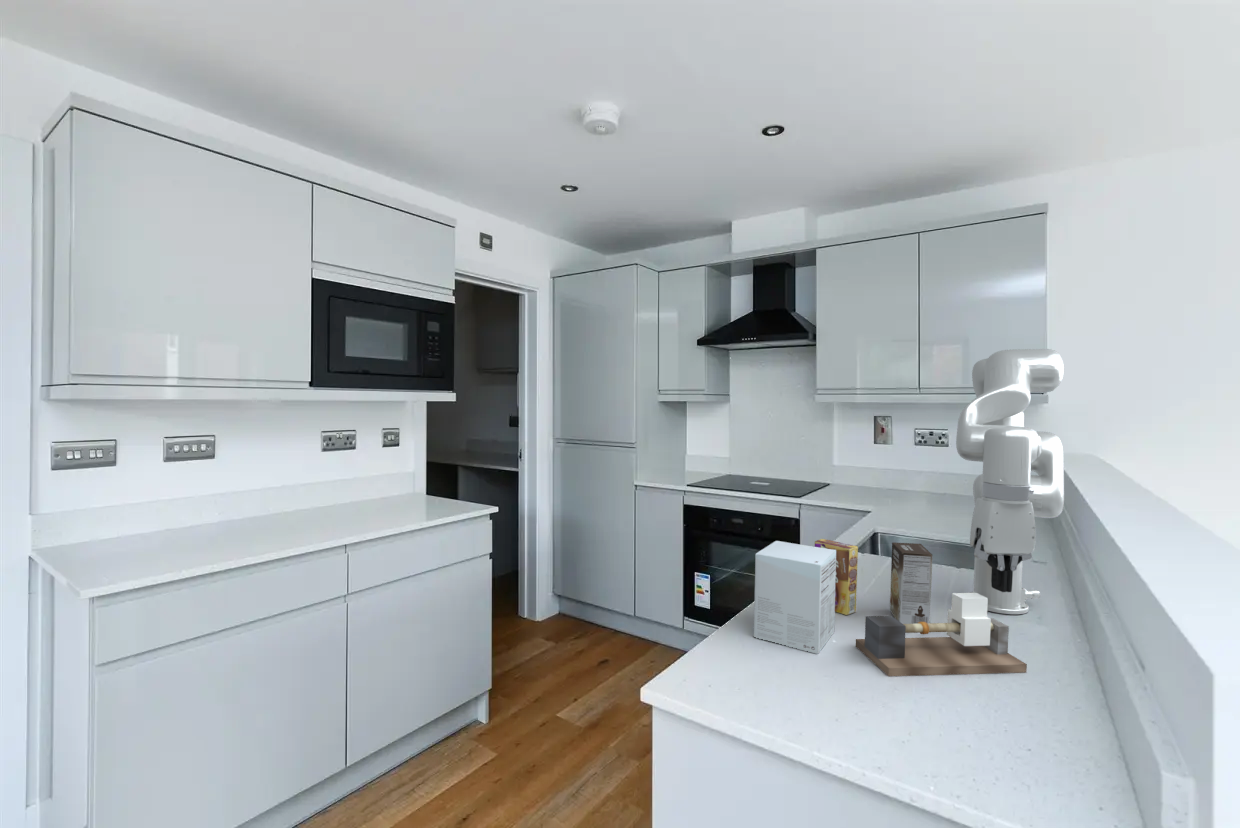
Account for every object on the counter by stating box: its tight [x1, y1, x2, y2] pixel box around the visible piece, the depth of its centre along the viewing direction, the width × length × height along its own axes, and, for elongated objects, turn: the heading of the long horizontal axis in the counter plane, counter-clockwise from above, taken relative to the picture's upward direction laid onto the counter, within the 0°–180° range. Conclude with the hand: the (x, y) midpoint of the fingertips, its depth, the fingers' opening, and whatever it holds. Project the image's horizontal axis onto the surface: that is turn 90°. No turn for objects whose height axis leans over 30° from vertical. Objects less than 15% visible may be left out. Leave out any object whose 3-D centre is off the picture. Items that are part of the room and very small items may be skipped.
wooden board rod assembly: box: [855, 614, 1028, 677], centre depth 110 cm, size 26×12×8 cm, turn 95°
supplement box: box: [752, 540, 836, 655], centre depth 119 cm, size 13×13×18 cm
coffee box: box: [889, 542, 934, 624], centre depth 129 cm, size 9×6×16 cm
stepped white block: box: [946, 592, 991, 646], centre depth 110 cm, size 5×5×8 cm
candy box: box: [814, 538, 859, 616], centre depth 135 cm, size 9×4×15 cm, turn 39°
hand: (1001, 589), depth 110 cm, fingers closed
